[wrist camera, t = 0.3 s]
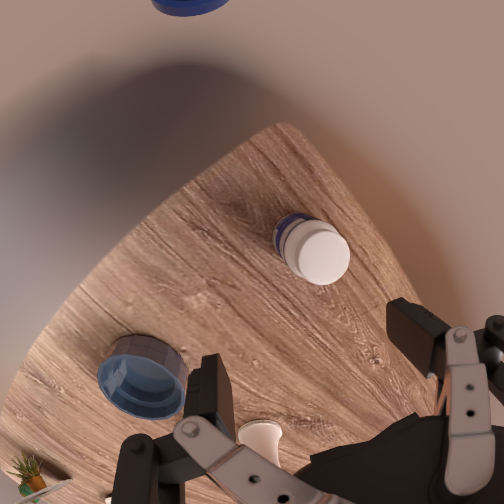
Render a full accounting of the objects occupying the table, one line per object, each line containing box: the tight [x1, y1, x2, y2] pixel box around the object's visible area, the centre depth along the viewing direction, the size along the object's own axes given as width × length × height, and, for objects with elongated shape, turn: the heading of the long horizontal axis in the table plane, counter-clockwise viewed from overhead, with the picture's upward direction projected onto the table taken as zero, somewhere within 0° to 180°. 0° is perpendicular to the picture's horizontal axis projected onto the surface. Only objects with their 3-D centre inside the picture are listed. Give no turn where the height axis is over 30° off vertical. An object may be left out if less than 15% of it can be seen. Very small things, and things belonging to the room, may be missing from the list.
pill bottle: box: [273, 213, 350, 285], centre depth 27 cm, size 6×6×10 cm
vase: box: [238, 420, 282, 468], centre depth 35 cm, size 8×8×10 cm
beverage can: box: [19, 483, 39, 503], centre depth 39 cm, size 8×8×12 cm
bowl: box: [97, 335, 188, 420], centre depth 32 cm, size 12×12×5 cm
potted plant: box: [7, 450, 73, 504], centre depth 35 cm, size 25×18×25 cm
